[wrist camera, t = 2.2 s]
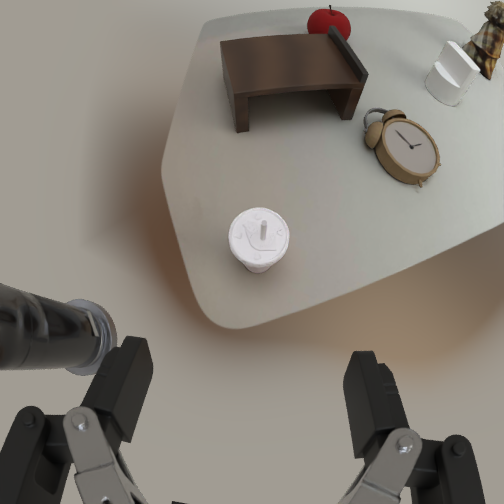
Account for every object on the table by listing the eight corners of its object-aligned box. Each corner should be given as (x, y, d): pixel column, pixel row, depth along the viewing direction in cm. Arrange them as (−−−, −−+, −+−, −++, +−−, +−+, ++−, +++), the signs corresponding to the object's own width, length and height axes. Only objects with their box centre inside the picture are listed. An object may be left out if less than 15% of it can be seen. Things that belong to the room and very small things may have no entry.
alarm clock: (421, 191, 41) (355, 115, 42) (404, 200, 46) (344, 131, 47) (450, 156, 43) (392, 90, 44) (434, 166, 48) (380, 104, 49)
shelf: (236, 133, 47) (232, 83, 37) (223, 78, 51) (218, 32, 41) (351, 119, 48) (368, 74, 38) (325, 69, 52) (334, 25, 42)
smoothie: (259, 293, 40) (261, 268, 27) (223, 260, 41) (209, 220, 28) (292, 258, 41) (309, 217, 28) (256, 227, 43) (257, 175, 29)
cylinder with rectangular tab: (417, 77, 53) (436, 39, 41) (443, 77, 54) (463, 43, 42) (440, 106, 50) (464, 69, 39) (465, 105, 51) (489, 71, 40)
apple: (306, 49, 54) (311, 12, 45) (304, 29, 57) (309, -5, 47) (348, 56, 54) (358, 20, 44) (343, 35, 56) (351, 2, 47)
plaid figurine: (452, 54, 56) (504, 2, 32) (448, 35, 60) (492, -12, 36) (487, 86, 57) (540, 41, 33) (481, 64, 61) (527, 22, 37)
